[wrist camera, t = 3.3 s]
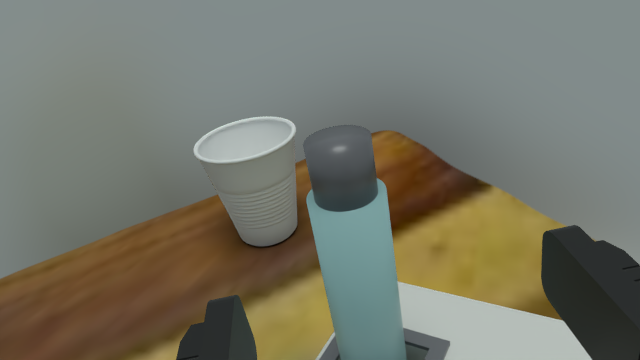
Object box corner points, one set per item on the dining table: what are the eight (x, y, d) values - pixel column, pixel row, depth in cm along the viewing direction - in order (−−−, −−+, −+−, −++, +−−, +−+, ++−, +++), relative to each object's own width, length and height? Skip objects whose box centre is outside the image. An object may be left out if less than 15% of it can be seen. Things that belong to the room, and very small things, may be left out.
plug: (398, 440, 29) (355, 163, 20) (339, 415, 31) (278, 154, 22) (420, 387, 32) (393, 124, 23) (366, 368, 34) (321, 119, 25)
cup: (314, 253, 47) (292, 151, 41) (215, 266, 48) (180, 168, 42) (316, 199, 55) (298, 109, 50) (232, 211, 56) (205, 124, 51)
